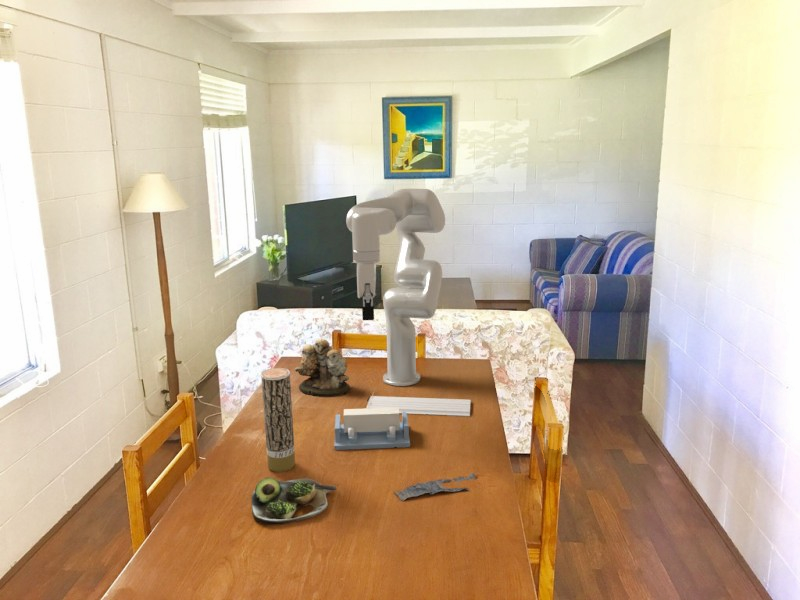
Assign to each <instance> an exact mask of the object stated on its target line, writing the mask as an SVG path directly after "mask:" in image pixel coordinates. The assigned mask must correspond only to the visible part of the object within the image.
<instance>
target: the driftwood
mask: <svg viewBox="0 0 800 600" xmlns="http://www.w3.org/2000/svg"><path fill="white" fill-rule="evenodd" d="M476 479H477V477H476V474H475V472H471V474H469V475H468V476H459V477H454V478H450V479H449V478H448V479H447V478H444V479H443V478H441V479H437V480H436V479H435V480H429V481H426V482H417V483H415V484H413V485H410V486H407V488H403V490H401V491H395V492H394V493H395V495H397V496H398V499H400V500H401V501H405V500H406V499H408V498H412V497H418V496H421V495H424V494H428V493H429V495H430V496H432V495H434V494H436V493H439V492H460V491H462V490H466V491H470V488H467V487H460V488H458V487H455V488H453V487H452V488H447V487H445V486H443V485H442V484H446V483H447V484H448V483H450V482H457V483H458V482H459V483H460V482H461V483H462V482H464V481H470V480H476ZM414 485H415V486H414ZM473 487H477V486H476V485H473Z"/></svg>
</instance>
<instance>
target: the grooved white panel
mask: <svg viewBox="0 0 800 600" xmlns="http://www.w3.org/2000/svg"><path fill="white" fill-rule="evenodd" d="M471 401H472V400H471V399H460V398H458V399H457V398H439V397H438V398H435V397H433V398H431V397H409V396H406V397H405V396H404V397H403V396H382V395H381V396H380V395H379V396H378V395H370V396H369V397H368V398H367V400H366V405H365V407H364V408H391V407H399V413H402V412H406V413H407V415H410V414H424V415H423V416H436V415H447V416H446V417H467V418H468V417H469V418H470V417H471ZM426 414H428V415H426Z"/></svg>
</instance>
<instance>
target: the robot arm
mask: <svg viewBox="0 0 800 600" xmlns="http://www.w3.org/2000/svg"><path fill="white" fill-rule="evenodd" d="M345 217H346V219H345V222H346V227H347V229H348V230H349V232H351V236H352V262H353V263H355V264H356V286H357V288H356V289H357V290H356V291H357V298H358V299H361V310H362V311H361V312H362V320H363V321H373V320H375V308H374V307H375V306H374V298H375V297H376V285H377V282H376V281H377V271H376V270H377V265H376V263H379V262H380V261H381V255H380V254H381V253H380V252H381V247H380V246H381V245H380V244H381V243H380V236H381V235H382V236H383V235H384V236H385V235H388V234H392V232H393V231H394V230H395V229H396V234H397V236H398V240H399V241H398V242H399V252H398V256H397V260H396V263H395V264H396V265H395V269H394V273H393V274H394V275H393V280H394V283H396V285H398V286H400V287H392V288H389V289H387V290H386V291H385V293H384V294H383V297H382V298H383V299H382V302H383V303H382V304H383V310H384V314H385V321H386V323H385V324H386V358H387V359H386V361H387V367H386V368H387V372H385V373H384V374H383V376H382V380H383V382H384V383H385V384H387V385H390V386H396V387H406V386H413V385H416V384H418V383H419V382H420V381H421V374H420V373H418V372H417V370H416V369H417V367H416V364H417V362H416V361H417V360H416V359H417V358H416V356H417V353H416V351H417V350H416V335H417V334H416V327H415V324H414V323H413V321H412V319H418V320H419V319H423V320H429V319H431V318H433V317H434V315H435V313H436V312H437V307H438V301H439V297H440V291H441V286H442V280H443V269H442V265H441V264H440V263H439V262H438V261H436V260H433V259H424V257H425V252H426V248H425V244H423V243H424V242H423V241H422V240H421V239H420V237H419V236H418V235H417V234H416V233H429V234H438V233H440V232H441V231H443V229H444V228H445V226H446V215H445V211H444V209H443V207H442V205H441V203H440V201H439V199H438V197H437V195H436V194H435V192H433V190H432V189H428V188H400V189H398V190H396V191H394V192H393V193H391V194H390V195H388V196H386V197H385V196H384V197H380V198H376V199H371V200H366V201H362V202H359V203H357V204H355V205H354V206H352V207H351V208H350V209H349V210H348V212H347V214H346V216H345Z"/></svg>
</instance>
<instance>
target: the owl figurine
mask: <svg viewBox="0 0 800 600" xmlns="http://www.w3.org/2000/svg"><path fill="white" fill-rule="evenodd" d="M301 354H302V355H301V361H300V363H299V364H300V366H297V367H295V368H294V371H295V372H296V373H297V372H298V374H299V375H300V376H305V377H308V378H307V379H305V380H303V381H302V382H301V383H300V384H299V386H298V387H299V388H298V389H299V391H300V392H301V393H302V394H305V395H311V396H313V397H314V396H315V397H327V398H328V397H338V396H341V395H346V394H348V393H349V392H350V391H351V385H350V384H349V383H347V381H349V379H350V376H348V375H347V374H345V373H346V372H347V371H348V369H347V368H348V362H347V361H348V360H347V358H345V357H344V356H343V355H342V354H341V352H340V351H339V350H338V349H333V347H332V346H330V343H329V341H328V340H327V339H324V338H319V339H317V340H316V341H315V342H314V345H312V344H310V343H309V344H306V345H304V346H303V347H302V349H301Z"/></svg>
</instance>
